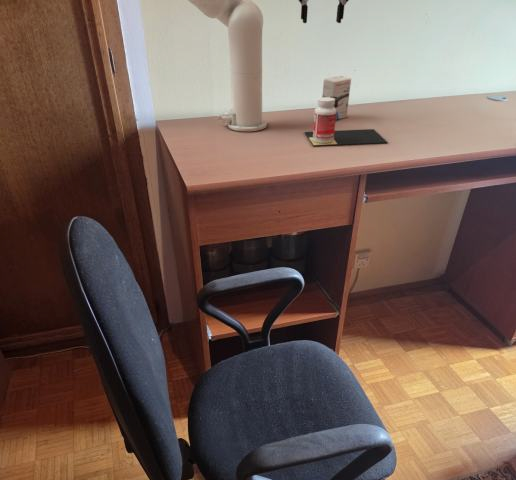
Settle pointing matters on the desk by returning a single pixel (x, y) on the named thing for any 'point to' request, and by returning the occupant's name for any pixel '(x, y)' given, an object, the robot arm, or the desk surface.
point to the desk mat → (351, 138)
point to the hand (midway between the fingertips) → (321, 22)
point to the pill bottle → (324, 120)
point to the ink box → (338, 93)
